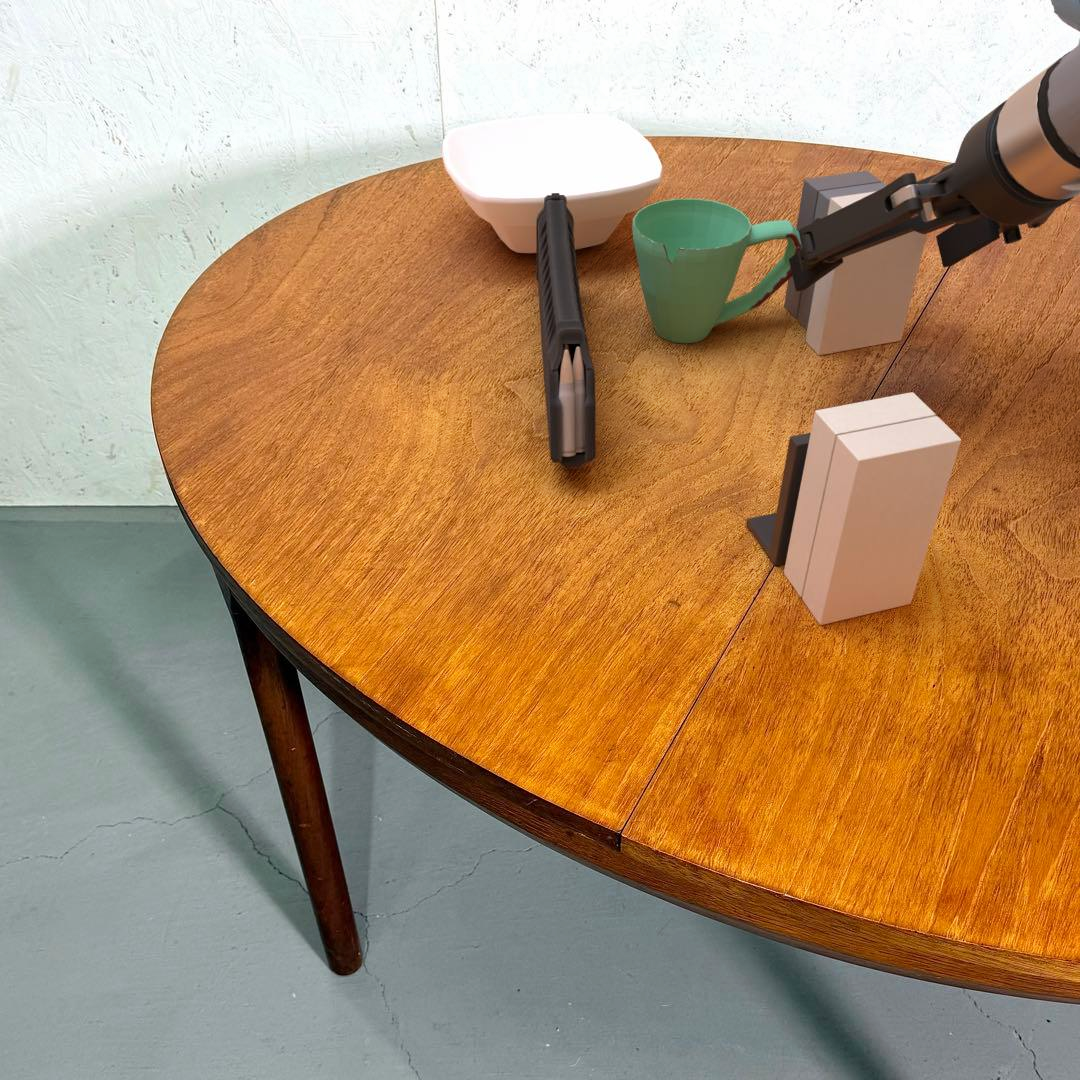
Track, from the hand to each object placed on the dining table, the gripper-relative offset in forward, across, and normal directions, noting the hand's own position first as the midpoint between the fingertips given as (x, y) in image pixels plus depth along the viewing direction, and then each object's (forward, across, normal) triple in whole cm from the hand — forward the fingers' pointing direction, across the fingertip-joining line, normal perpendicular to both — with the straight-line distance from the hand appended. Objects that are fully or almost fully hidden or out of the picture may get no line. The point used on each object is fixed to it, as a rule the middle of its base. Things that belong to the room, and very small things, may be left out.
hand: (870, 262), depth 87 cm
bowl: (+26, -19, +15) cm, 35 cm away
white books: (-12, -16, -23) cm, 30 cm away
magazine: (+7, -26, -4) cm, 27 cm away
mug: (+10, -11, -1) cm, 15 cm away
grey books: (+9, 0, -2) cm, 9 cm away
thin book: (+6, 0, -5) cm, 8 cm away
